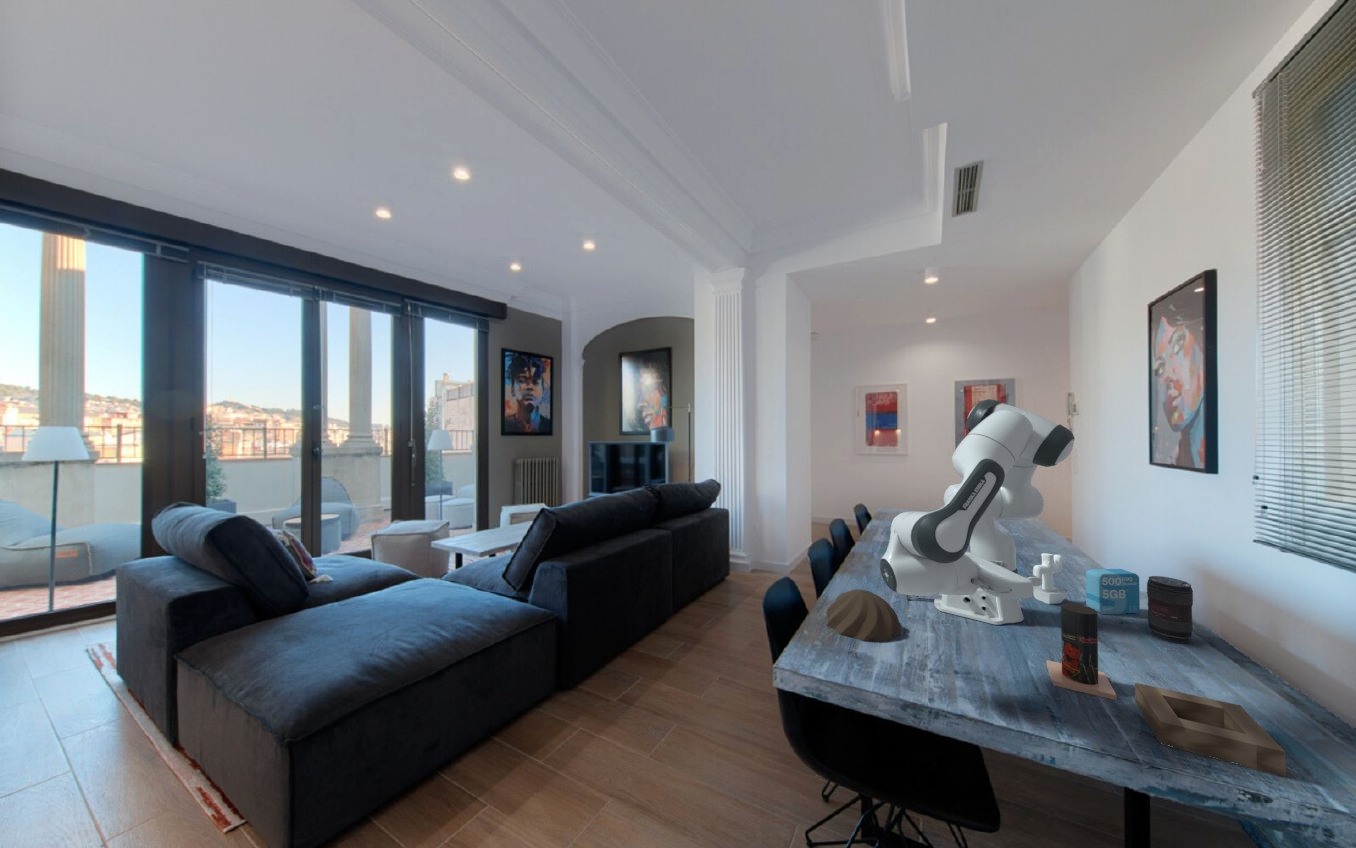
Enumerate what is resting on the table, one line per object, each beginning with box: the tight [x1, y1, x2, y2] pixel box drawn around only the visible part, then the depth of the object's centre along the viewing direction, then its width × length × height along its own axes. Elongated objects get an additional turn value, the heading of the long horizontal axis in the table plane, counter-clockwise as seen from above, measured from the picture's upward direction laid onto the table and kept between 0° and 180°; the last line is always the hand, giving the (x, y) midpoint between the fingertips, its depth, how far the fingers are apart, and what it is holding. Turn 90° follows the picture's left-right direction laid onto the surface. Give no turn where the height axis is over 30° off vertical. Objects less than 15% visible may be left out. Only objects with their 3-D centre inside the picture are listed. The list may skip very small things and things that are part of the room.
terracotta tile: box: [1045, 659, 1118, 701], centre depth 98 cm, size 10×10×1 cm
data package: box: [1085, 568, 1141, 615], centre depth 134 cm, size 12×4×12 cm, turn 90°
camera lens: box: [1146, 575, 1194, 644], centre depth 117 cm, size 8×8×15 cm
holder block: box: [1134, 682, 1287, 778], centre depth 81 cm, size 14×14×4 cm
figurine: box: [1032, 552, 1070, 605], centre depth 142 cm, size 7×9×15 cm
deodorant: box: [1060, 602, 1099, 685], centre depth 98 cm, size 6×6×15 cm
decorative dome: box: [825, 589, 901, 643], centre depth 127 cm, size 19×20×10 cm
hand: (1021, 572), depth 99 cm, fingers open, 8 cm apart
